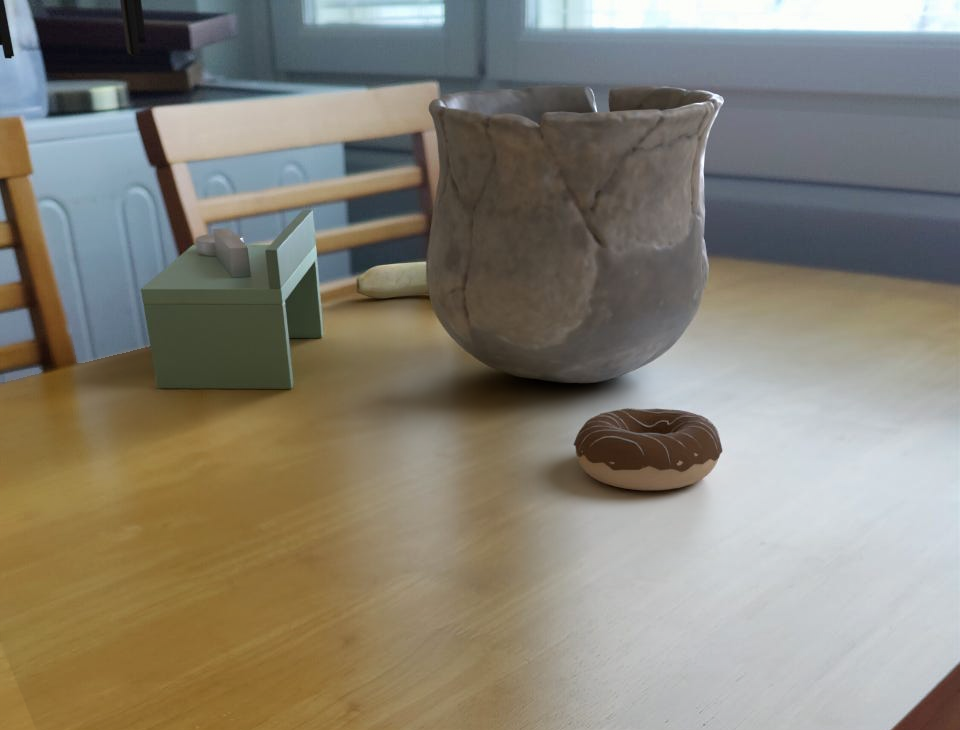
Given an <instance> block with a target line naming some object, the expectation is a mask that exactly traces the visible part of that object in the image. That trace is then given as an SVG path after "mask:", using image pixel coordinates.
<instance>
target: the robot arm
mask: <svg viewBox="0 0 960 730" xmlns="http://www.w3.org/2000/svg"><path fill="white" fill-rule="evenodd" d="M119 3H120V10H121V17H122V24H123V25H122V26H123V31H124V32H123V33H124V38H125V47H126V52H127V54H129V56H132V57H133V58H140V57H141V51H140V50H141V49H140V45H146V44H147V36H146V27H145V20H144V19H145V18H144V13H143V5H142V0H119ZM8 20H9V19H8V15H7V8H6V4H5V0H0V46H2V52H3V56H4V59H12V58H13V57H15V53H14V48H13V41H12V36H11V31H10V25H9V21H8Z"/></svg>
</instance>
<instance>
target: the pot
mask: <svg viewBox="0 0 960 730" xmlns="http://www.w3.org/2000/svg"><path fill="white" fill-rule="evenodd" d="M724 103H725V101H724V98H723V96H720V95H719V94H716V93H713V92H710V91H708V90H701V89H700V90H698V89H695V90H691V91H690V90H687V89H684V88H681V87H671V86H661V87H660V86H659V87H658V86H656V85H636V86H623V87H615V88H610V90H609V91H608V110H609V111H598V110H597V103H596V98H595V94H594V91H593V90H592V88H591V87H590V86H587V85H575V86H574V85H535V86H528V87H522V88H518V89H517V90H513V89H511V88H497V89H486V90H471V91H459V92H458V91H457V92H454V93H445V94H444V95H442V96H440V97H439V98H434V99H433V100H432V101H430V102H429V105H428V112H429V114H430V116H431V118H432V121H433V125H434V129H435V134H436V140H437V153H438V165H439V168H438V169H439V172H438V179H437V180H438V181H437V186H436V191H435V197H434V204H433V211H432V217H431V224H430V226H431V227H430V230H429V231H430V232H429V241H428V246H427V252H426V259H425V262H426V282H427V286H428V290H429V293H430V294H429V300H430V301H429V302H430V304H431V307H432V310H433V312H434V314H435V317H436V318H437V320H438V322H439V323H440V325H441V326H442V327H443V329H444V330H445V331H446V333H447V334H448V335H449V336H450V338H451V339H452V340H453V341H454V342H455V343H456V344H457V345H458V346H459V347H461V348H462V349H463V350H464V351H465V352H467V353H468V354H469V355H471V356H472V357H473V358H475V359H476V360H478V361H479V362H481V363H482V364H484V365H486V366H487V367H489V368H491V369H495V370H496V371H500V372H503V373H505V374H508V375H512V376H514V377H518V378H523V379H525V378H526V379H532V380H539V381H546V382H551V383H552V382H553V383H562V384H563V383H564V384H591V383H593V384H594V383H600V382H605V381H609V380H612V379H615V378H618V377H621V376H622V375H626V374H628V373H629V374H630V372H634V371H636V370H638V369H640V368H642V367H644V366H646V365H649V364H651V363H652V362H653V361H655V360H657V359H659V358H660V357H661V356H663V355H664V354H665V353H666V352H668V351H669V350H670V349H672V347H673V346H674V345H675V344H676V343H677V342H678V340H680V338H681V337H682V335H683V334H684V333H685V331H686V330H687V329H688V327H689V326H690V325H691V324H692V321H693V320H694V318H695V317H696V315H697V313H698V311H699V308H700V306H701V304H702V299H703V295H704V293H705V290H706V287H707V284H708V278H709V274H710V267H709V259H708V256H707V248H706V242H705V239H704V236H705V223H706V219H705V216H706V208H705V203H706V201H705V200H706V199H705V175H704V174H705V173H704V167H705V153H706V148H707V144H708V138H709V135H710V133H711V132H710V131H711V129H712V126H713V124H714V122H715V120H716V118H717V116H718V113H719V111H720V108H721V107H722V106H723V104H724Z"/></svg>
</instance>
